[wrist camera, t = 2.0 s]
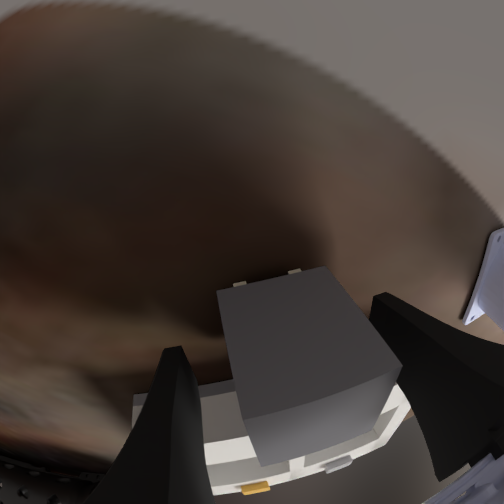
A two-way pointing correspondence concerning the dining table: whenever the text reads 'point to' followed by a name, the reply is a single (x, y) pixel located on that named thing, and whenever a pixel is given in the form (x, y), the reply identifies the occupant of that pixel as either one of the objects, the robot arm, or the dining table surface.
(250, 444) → the double socket
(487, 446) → the robot arm
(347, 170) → the dining table surface
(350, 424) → the plug
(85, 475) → the muzzle brake
